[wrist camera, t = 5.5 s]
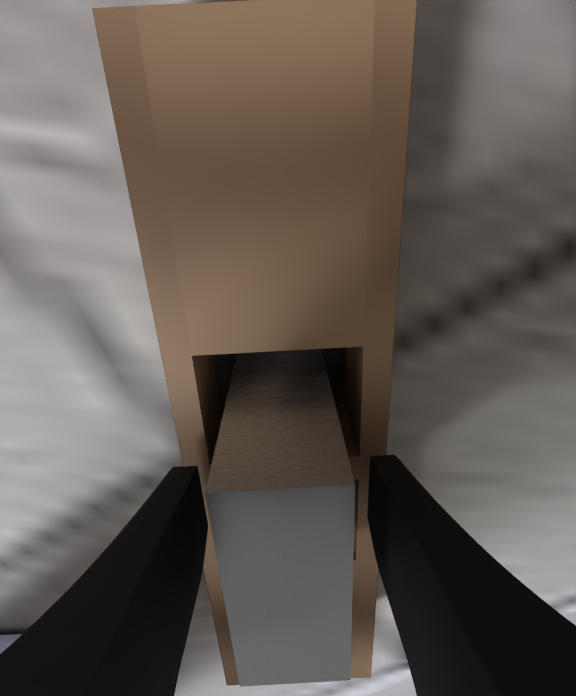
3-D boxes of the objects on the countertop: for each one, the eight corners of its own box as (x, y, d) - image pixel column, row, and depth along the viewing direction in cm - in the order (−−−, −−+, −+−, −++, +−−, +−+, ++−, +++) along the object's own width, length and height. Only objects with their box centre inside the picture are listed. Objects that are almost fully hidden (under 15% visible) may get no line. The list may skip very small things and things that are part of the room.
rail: (358, 609, 17) (370, 677, 15) (233, 616, 17) (227, 685, 15) (380, 39, 9) (417, -9, 6) (140, 52, 9) (91, 8, 6)
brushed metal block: (321, 481, 14) (350, 679, 8) (254, 485, 14) (239, 685, 8) (318, 339, 12) (355, 485, 6) (239, 344, 12) (205, 493, 6)
